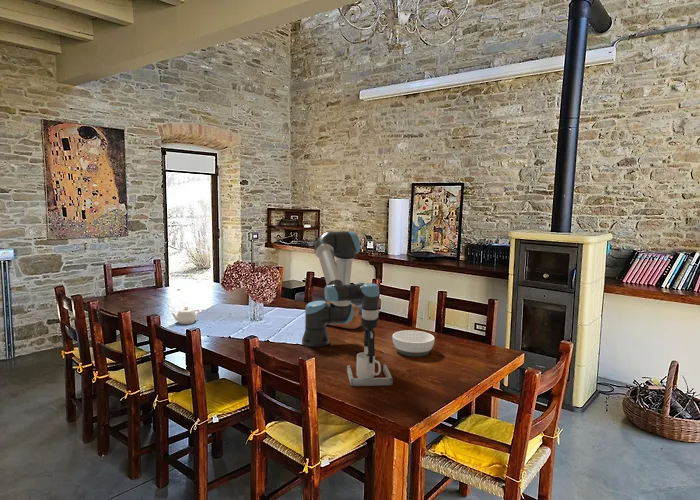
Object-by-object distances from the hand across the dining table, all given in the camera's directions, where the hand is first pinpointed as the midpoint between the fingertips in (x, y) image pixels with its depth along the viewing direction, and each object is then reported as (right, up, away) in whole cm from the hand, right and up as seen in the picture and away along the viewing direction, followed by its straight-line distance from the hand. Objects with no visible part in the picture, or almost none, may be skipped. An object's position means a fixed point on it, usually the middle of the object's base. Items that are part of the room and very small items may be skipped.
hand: (368, 364), depth 210 cm
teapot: (-114, +6, +84) cm, 142 cm away
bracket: (0, -6, -1) cm, 6 cm away
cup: (0, -6, -1) cm, 6 cm away
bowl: (+25, -2, +37) cm, 45 cm away
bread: (-15, +4, +85) cm, 87 cm away
